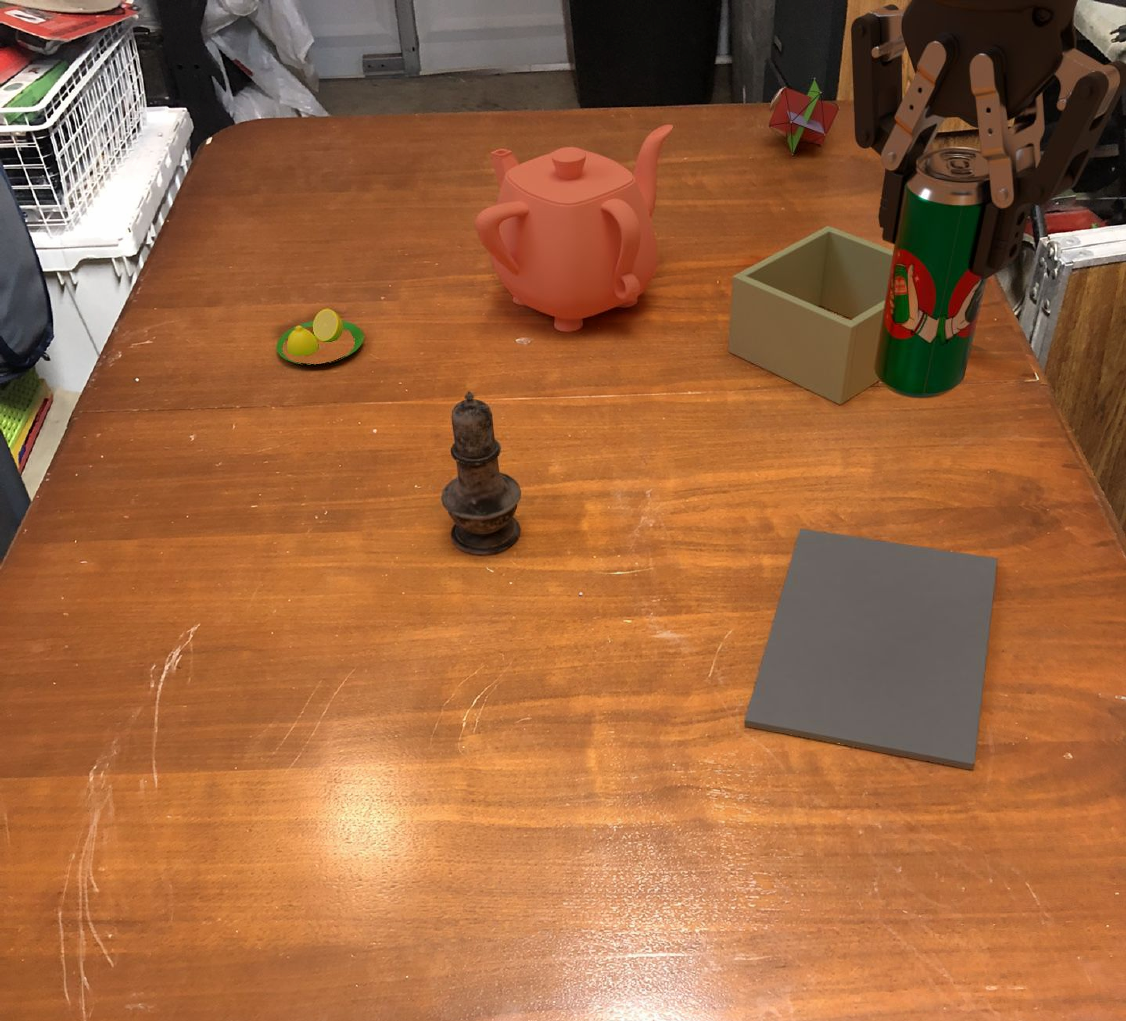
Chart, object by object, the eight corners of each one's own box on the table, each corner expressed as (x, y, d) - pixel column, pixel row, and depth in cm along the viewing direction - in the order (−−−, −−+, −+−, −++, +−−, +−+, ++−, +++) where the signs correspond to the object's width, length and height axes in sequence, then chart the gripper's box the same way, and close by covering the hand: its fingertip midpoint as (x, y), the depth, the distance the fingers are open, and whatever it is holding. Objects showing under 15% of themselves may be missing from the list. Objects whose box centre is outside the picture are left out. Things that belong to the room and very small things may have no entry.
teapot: (500, 258, 118) (488, 115, 108) (669, 257, 116) (673, 112, 106) (482, 342, 107) (466, 192, 97) (667, 342, 106) (671, 190, 96)
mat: (799, 534, 87) (800, 528, 86) (995, 564, 83) (997, 558, 83) (743, 726, 74) (744, 720, 74) (972, 770, 71) (974, 764, 70)
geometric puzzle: (844, 112, 133) (808, 52, 128) (855, 136, 128) (818, 74, 124) (790, 155, 136) (752, 98, 132) (799, 179, 132) (760, 121, 127)
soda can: (957, 356, 69) (1005, 142, 60) (967, 404, 66) (1020, 185, 57) (869, 355, 69) (904, 143, 60) (875, 402, 66) (913, 185, 57)
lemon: (318, 317, 112) (312, 289, 110) (382, 339, 108) (377, 310, 106) (259, 356, 107) (252, 327, 105) (324, 379, 104) (318, 350, 102)
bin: (818, 299, 109) (827, 225, 104) (931, 347, 103) (947, 270, 98) (727, 351, 104) (732, 275, 99) (840, 405, 98) (851, 327, 92)
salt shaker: (482, 500, 91) (466, 359, 82) (540, 527, 89) (529, 385, 80) (430, 538, 88) (407, 397, 79) (488, 568, 86) (471, 425, 77)
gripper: (1229, -134, 47) (1104, 273, 60) (932, -179, 55) (877, 192, 67) (1128, -93, 44) (1019, 328, 57) (828, -145, 52) (791, 237, 64)
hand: (942, 253), depth 62 cm, fingers closed on soda can, 5 cm apart
